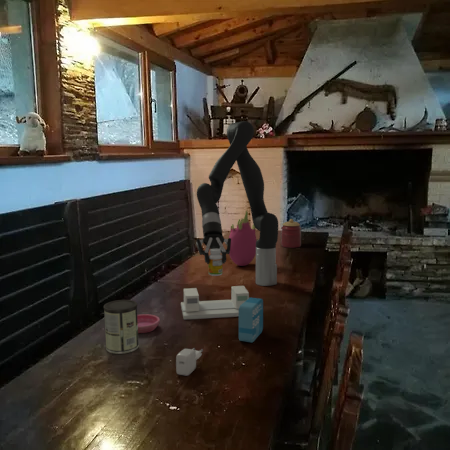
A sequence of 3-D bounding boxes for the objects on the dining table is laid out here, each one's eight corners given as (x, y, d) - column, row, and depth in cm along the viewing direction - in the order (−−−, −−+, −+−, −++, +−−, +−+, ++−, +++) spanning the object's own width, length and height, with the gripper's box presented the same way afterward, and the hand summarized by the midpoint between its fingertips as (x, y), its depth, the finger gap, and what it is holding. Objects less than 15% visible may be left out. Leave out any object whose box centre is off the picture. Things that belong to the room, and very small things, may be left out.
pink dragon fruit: (253, 261, 268) (253, 208, 264) (262, 267, 256) (262, 210, 251) (222, 264, 263) (222, 209, 258) (230, 270, 250) (230, 212, 246)
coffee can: (116, 339, 159) (115, 298, 157) (144, 343, 156) (143, 301, 154) (98, 351, 150) (96, 307, 148) (128, 356, 146) (126, 311, 144)
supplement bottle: (208, 272, 188) (207, 248, 186) (221, 272, 188) (221, 247, 186) (208, 276, 182) (208, 251, 181) (223, 276, 183) (223, 250, 181)
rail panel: (244, 302, 197) (244, 283, 196) (253, 315, 181) (253, 295, 180) (180, 305, 193) (180, 286, 192) (183, 319, 178) (183, 298, 176)
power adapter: (191, 358, 144) (190, 340, 143) (206, 361, 143) (205, 342, 142) (173, 374, 134) (173, 354, 133) (189, 377, 132) (189, 357, 131)
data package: (251, 344, 155) (251, 308, 153) (238, 342, 157) (238, 306, 155) (263, 331, 166) (263, 297, 164) (250, 329, 168) (250, 296, 166)
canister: (281, 243, 319) (281, 217, 316) (300, 244, 317) (301, 217, 314) (280, 247, 306) (280, 220, 303) (301, 248, 304) (301, 220, 301)
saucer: (125, 337, 162) (125, 328, 161) (122, 324, 174) (122, 315, 173) (162, 333, 165) (162, 324, 165) (157, 320, 177) (157, 312, 176)
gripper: (194, 221, 188) (197, 258, 178) (230, 220, 191) (236, 256, 181) (193, 232, 194) (196, 268, 184) (228, 231, 197) (233, 267, 187)
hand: (216, 262), depth 183 cm, fingers closed on supplement bottle, 5 cm apart
